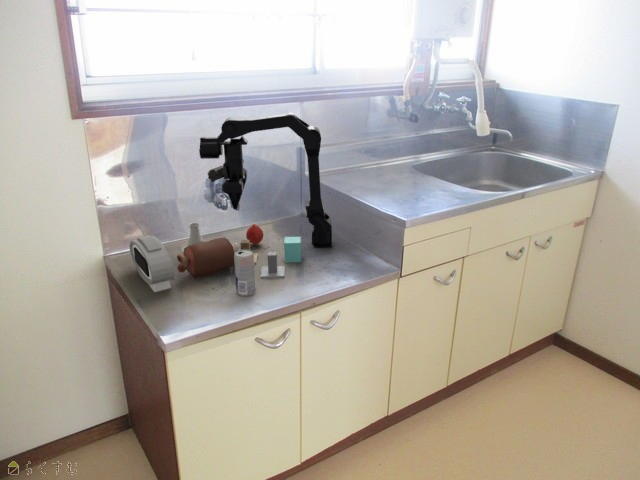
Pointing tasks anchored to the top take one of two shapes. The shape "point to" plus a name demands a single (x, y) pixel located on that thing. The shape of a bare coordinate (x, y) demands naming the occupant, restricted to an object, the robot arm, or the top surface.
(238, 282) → the energy drink
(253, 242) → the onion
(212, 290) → the top surface
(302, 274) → the top surface
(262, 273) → the light grey base plate
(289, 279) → the top surface
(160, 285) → the alarm clock
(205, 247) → the meat
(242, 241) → the tan wooden stamp
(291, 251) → the turquoise block
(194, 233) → the flask
